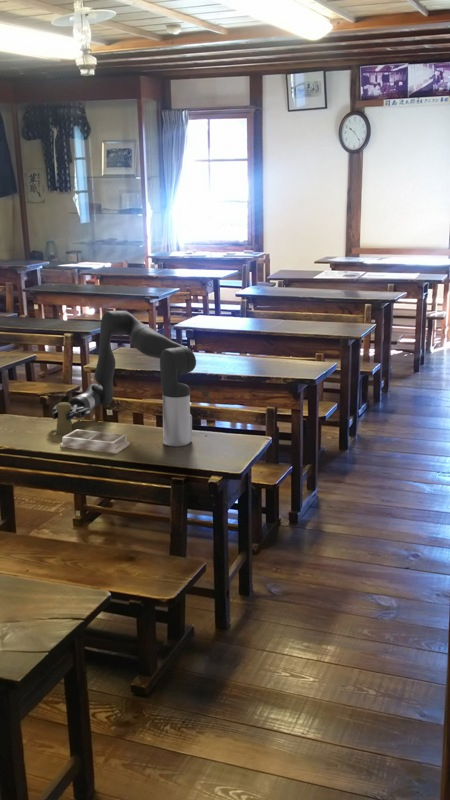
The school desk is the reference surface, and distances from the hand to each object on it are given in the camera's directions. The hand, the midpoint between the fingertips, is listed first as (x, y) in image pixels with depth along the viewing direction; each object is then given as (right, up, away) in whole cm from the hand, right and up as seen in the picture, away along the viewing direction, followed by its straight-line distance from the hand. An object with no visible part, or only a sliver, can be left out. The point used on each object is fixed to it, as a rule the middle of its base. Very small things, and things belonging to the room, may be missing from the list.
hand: (60, 416), depth 278 cm
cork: (+1, -6, +4) cm, 7 cm away
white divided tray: (+14, -10, -11) cm, 20 cm away
